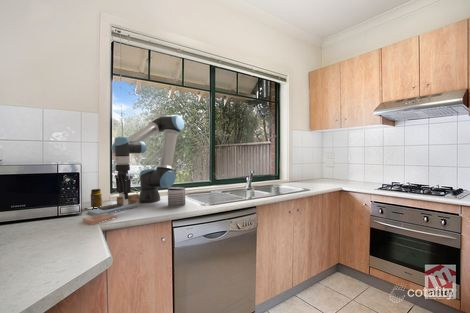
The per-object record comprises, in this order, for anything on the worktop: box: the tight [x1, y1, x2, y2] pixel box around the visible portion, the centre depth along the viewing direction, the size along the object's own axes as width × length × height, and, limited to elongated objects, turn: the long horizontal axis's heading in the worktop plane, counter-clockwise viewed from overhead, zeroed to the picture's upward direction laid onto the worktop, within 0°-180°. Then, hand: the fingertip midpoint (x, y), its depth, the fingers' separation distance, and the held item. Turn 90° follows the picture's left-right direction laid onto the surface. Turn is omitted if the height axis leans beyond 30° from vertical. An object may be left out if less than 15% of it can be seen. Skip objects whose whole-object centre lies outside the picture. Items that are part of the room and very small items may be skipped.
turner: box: [99, 193, 140, 210], centre depth 129 cm, size 21×6×5 cm, turn 146°
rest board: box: [87, 203, 138, 216], centre depth 141 cm, size 24×13×2 cm, turn 147°
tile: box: [82, 213, 117, 226], centre depth 120 cm, size 2×10×12 cm
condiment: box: [90, 188, 103, 208], centre depth 148 cm, size 7×8×12 cm
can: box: [167, 186, 186, 208], centre depth 150 cm, size 11×11×12 cm
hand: (123, 204), depth 131 cm, fingers closed on turner, 3 cm apart
